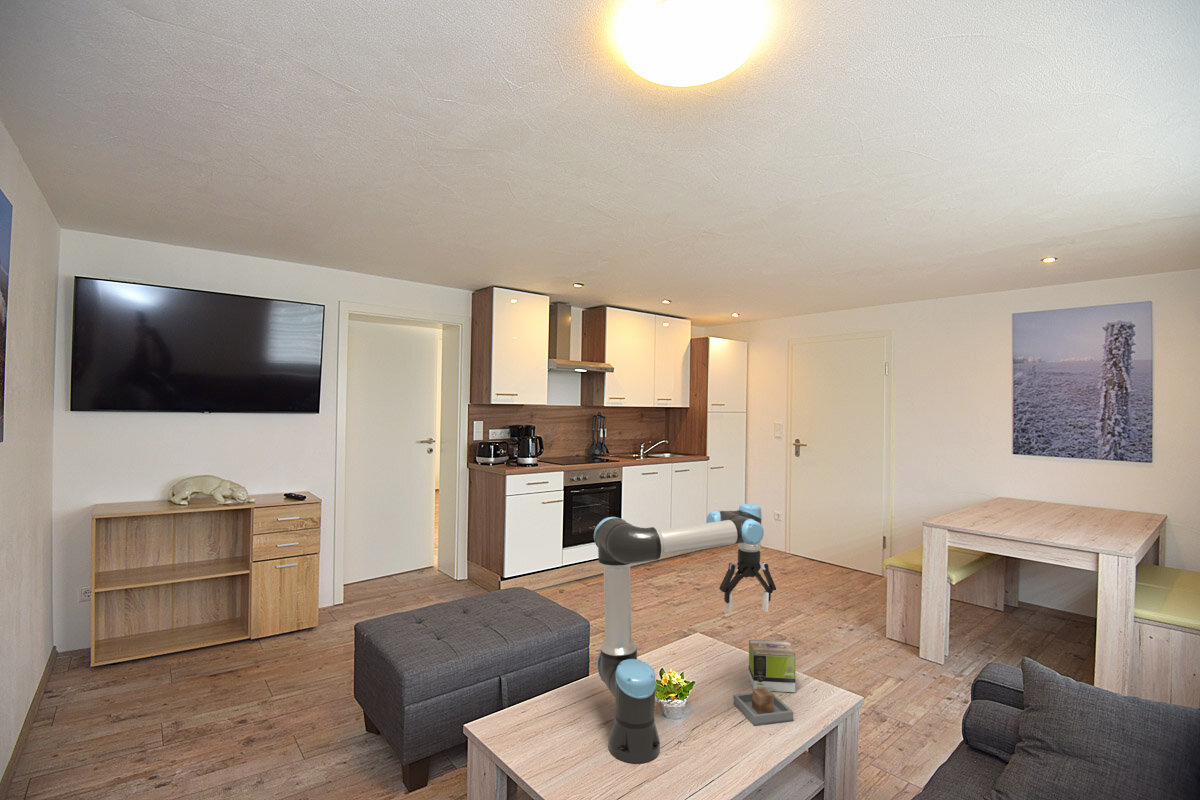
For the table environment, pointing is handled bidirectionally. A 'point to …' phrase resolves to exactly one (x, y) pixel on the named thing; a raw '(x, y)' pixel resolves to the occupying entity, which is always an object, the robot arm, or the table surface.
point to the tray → (778, 716)
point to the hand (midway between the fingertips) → (747, 611)
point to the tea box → (772, 665)
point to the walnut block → (762, 701)
